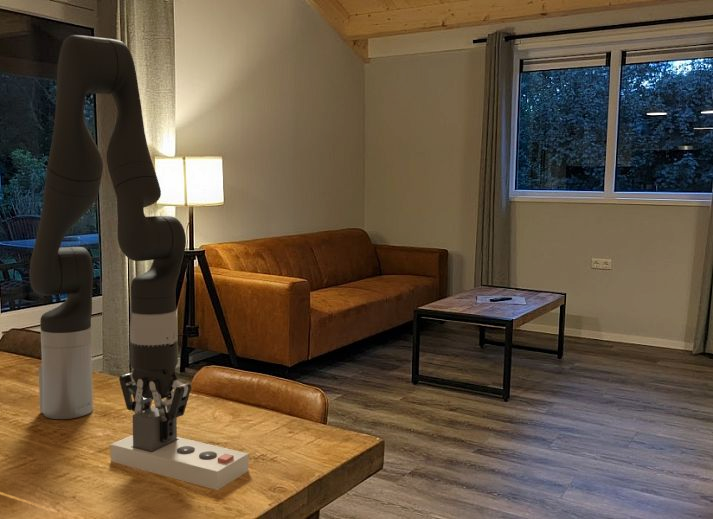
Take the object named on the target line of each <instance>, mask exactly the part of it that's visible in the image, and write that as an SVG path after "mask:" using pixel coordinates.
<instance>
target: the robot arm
mask: <svg viewBox="0 0 713 519" xmlns="http://www.w3.org/2000/svg"><path fill="white" fill-rule="evenodd" d="M87 94H98V95H111V97H112V98H113V100H114V103H115V104H114V105H115V107H116V119H115V120H116V121H115V125H114V128H113V131H112V134H111V135H110V139H109V143H108V147H107V151H106V164H107V168H108V173H109V176H110V179H111V184H112V186H113V189H114V192H115V196H116V207H117V208H116V209H117V212H116V213H117V229H116V230H117V242H118V246H119V248H120V250H121V251H122V253H123V254H124V256H125V257H127V259H129V260H131V261H135V262H145V261H152V263H151V266H150V267H149V270H147V271H146V272H144V273H142V274H138V275H137V276H135V277H134V278H133V279H132V280H131V283H130V307H131V308H130V310H131V312H130V321H129V352H130V354H129V355H130V356H129V357H130V358H129V359H130V361H129V362H130V364H129V365H130V367H131V368H133V370H132V371H131V372H128V373H125V374H122V375H120V376H119V383H120V388H121V391H122V395H123V400H124V402H125V406H126V409H127V410H128V411H133V412H134V414H137V413H139V412H142V411H144V410H147V409H149V408H152V403H154V406H155V407H156V408H158V411H159V416H160V420H161V421H160V442H162V443H166V442H168V441H170V440H171V439H172V437H173V435H174V429H173V420H174V419H175V418H177V419H178V418H179V417H182V416H184V415H185V410H186V408H187V404H188V400H189V398H190V394H191V390H192V385H191V384H190V383H188V382H187V383H183V382H181V381H180V380H178V376H177V373H176V368H177V366H178V363H179V351H178V350H179V345H178V343H179V337H178V336H179V334H178V331H179V330H178V319H177V318H178V317H177V303H176V301H177V299H176V298H177V296H176V295H177V294H176V292H177V291H176V288H177V281H178V279H179V275H180V270H181V266H182V262H183V259H184V255H185V251H186V247H187V237H186V236H187V235H186V232H185V229H184V226H183V224H182V222H181V221H180V220H179V219H177V218H176V217H174V216H173V215H171V216H170V215H157V216H156V215H154V216H146V214H145V212H144V211H145V210H144V209H145V208H147V207H150V206H152V205H154V204H155V203H157V202H158V201H159V199H160V198H161V196H162V195H161V194H162V192H161V191H162V190H161V187H160V183H159V179H158V176H157V173H156V169H155V167H154V164H153V160H152V157H151V155H150V154H151V153H150V150H149V146H148V141H147V137H146V133H145V132H146V131H145V125H144V117H143V109H142V108H143V107H142V101H141V96H140V89H139V84H138V76H137V71H136V66H135V61H134V58H133V55H132V53H131V50H130V48H129V47H128V46H127V44H125V43H124V42H123V41H121V40H119V39H113V38H109V37H108V38H106V37H98V36H90V35H82V34H81V35H79V34H71V35H68V36H67V37H66V38H65V39H64V41H63V42H62V45H61V47H60V50H59V57H58V63H57V78H56V96H55V97H56V98H55V111H54V124H53V130H52V131H53V132H52V137H51V139H52V140H51V144H50V150H49V156H48V160H47V168H46V172H45V174H46V175H45V179H44V181H45V182H44V191H43V198H42V209H41V213H40V219H39V224H38V228H37V233H36V237H35V241H34V245H33V247H32V248H33V250H32V253H31V258H30V264H29V275H28V276H29V283H30V287H31V289H32V290H33V292H34V293H35V294H37V295H39V296H44V297H45V296H46V297H47V296H48V297H51V296H59V295H60V296H61V295H68V296H67V299H66V300H64V302H62V303H61V304H60V305H58V306H56V307H55V308H53V309H50V310H49V311H46V312H45V313H43V314H42V315H41V316H40V326H39V327H40V345H41V346H40V348H41V351H40V352H41V364H40V365H39V366H38V385H39V386H38V388H39V389H38V391H39V392H38V393H39V412H40V413H42V414H43V416H44V417H45V418H48V419H53V420H70V419H76V418H80V417H84V416H86V415H89V414H90V413H92V412H93V411H94V410H93V409H94V399H93V398H94V396H93V394H94V393H93V391H94V390H93V389H94V388H93V360H92V357H93V356H92V355H93V354H92V353H93V352H92V351H93V350H92V314H93V285H94V284H93V280H94V269H93V268H94V267H93V265H94V264H93V260H92V257H91V253H90V251H88V249H86V247H84V246H66V247H62V242H63V240H64V238H66V236H67V234H68V232H69V231H70V230H71V229H72V228H73V227H74V226H75V225H76V224H77V223H78V222H79V221H80V220H81V219H82V217H84V215H85V214H86V213H88V212H89V210H90V209H91V207H92V206H93V205H94V203H95V202H96V200H97V198H98V196H99V193H100V188H101V183H102V177H103V173H104V172H103V171H104V162H103V157H102V155H101V152H100V150H99V147H98V145H97V144H96V142H95V140H94V138H93V136H92V134H91V132H90V131H89V128H88V125H87V123H86V120H85V101H86V100H85V99H86V97H87ZM163 399H165V400H163ZM165 407H167V411H168V412H166V408H165Z"/></svg>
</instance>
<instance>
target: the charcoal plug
mask: <svg viewBox="0 0 713 519" xmlns="http://www.w3.org/2000/svg"><path fill="white" fill-rule="evenodd" d="M165 408H166V412H168V411H167V407H165ZM177 420H178V417H177V418H175V419H174V420H173V429H174V435H173V437H172V439H171V440H170V441H168V442H166V443H162V442H160V421H161V420H160V416H159V411H158V408H156V407H155V405H154V406H151V408H149V409H147V410H144V411H142V412H139V413H137V414H135V413H134V414H132V435H133V448H136V449H140V450H144V451H148V452H154V451H156V450H158V449H160V448H162V447H164V446H166V445H169V444H171V443H173V442H175V441H177V437H178V430H177V423H178V422H177Z"/></svg>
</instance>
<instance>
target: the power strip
mask: <svg viewBox="0 0 713 519" xmlns="http://www.w3.org/2000/svg"><path fill="white" fill-rule="evenodd" d="M110 462H112V463H116V464H119V465H123V466H127V467H129V468H130V467H131V468H134V469H138V470H141V471H146V472H149V473H152V474H156V475H160V476H164V477H167V478H171V479H176V480H179V481H183V482H187V483H189V484H193V485H197V486H201V487H205V488H208V489H211V490H216V491H219V490H220V489H222V488H224V487H225V486H227V485H229V484H230V483H232V482H233V481H234V480H237V479H238V478H239V477H241V476H242V475H244V474H245V473H247V472H249V453H248V452H243V451H239V450H237V449H236V450H235V449H231V448H226V447H223V446H219V445H213V444H209V443H206V442H201V441H197V440H192V439H188V438H184V437H180V436H177V441H175V442H173V443H171V444H169V445H166V446H164V447H162V448H160V449H158V450H156V451H154V452H148V451H144V450H140V449H136V448H133V434H131V435H129V436H127V437H124V438H123V439H120V440H117V441H115V442H113V443H111V444H110Z"/></svg>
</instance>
